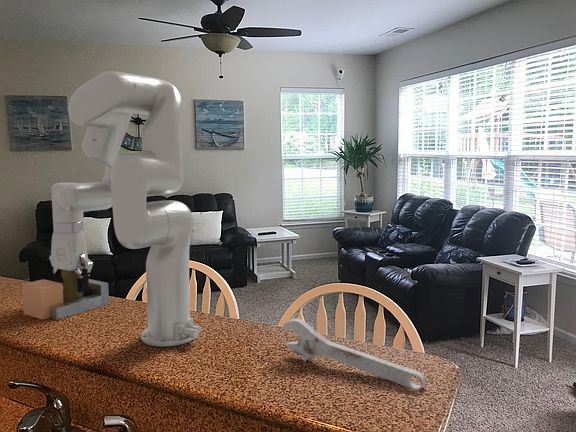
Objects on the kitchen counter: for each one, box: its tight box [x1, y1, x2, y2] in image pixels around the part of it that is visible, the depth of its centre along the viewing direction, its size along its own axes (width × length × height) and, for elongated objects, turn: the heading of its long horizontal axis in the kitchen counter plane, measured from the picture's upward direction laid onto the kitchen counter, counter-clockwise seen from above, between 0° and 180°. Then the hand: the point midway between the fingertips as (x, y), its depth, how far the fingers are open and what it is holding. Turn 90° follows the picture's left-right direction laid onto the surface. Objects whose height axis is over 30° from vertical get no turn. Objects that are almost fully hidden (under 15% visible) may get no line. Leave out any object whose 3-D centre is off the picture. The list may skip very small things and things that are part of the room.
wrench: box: [282, 318, 426, 391], centre depth 93 cm, size 8×2×30 cm
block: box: [21, 279, 63, 320], centre depth 125 cm, size 8×6×8 cm
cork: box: [61, 270, 84, 303], centre depth 132 cm, size 6×6×11 cm
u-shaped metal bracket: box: [50, 278, 110, 321], centre depth 131 cm, size 14×16×6 cm
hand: (71, 288), depth 132 cm, fingers open, 9 cm apart
